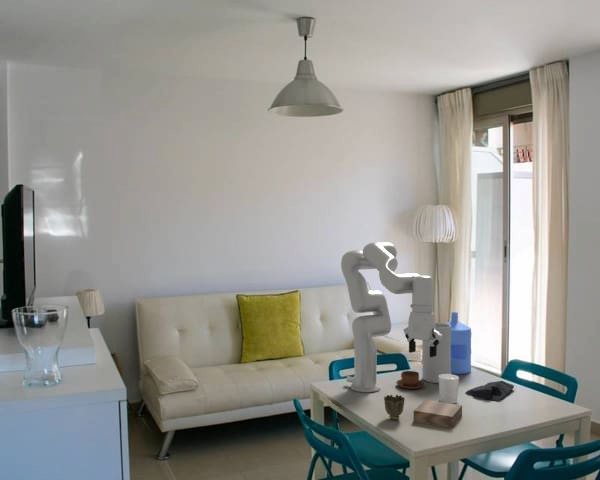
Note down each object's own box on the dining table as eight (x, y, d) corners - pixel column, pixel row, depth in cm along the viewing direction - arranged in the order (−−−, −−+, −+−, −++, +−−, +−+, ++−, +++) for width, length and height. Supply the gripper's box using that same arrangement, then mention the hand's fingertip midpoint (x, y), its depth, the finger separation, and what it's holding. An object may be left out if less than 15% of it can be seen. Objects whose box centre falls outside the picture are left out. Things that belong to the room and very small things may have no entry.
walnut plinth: (413, 421, 209) (413, 410, 209) (425, 410, 221) (425, 399, 221) (452, 428, 202) (452, 416, 202) (462, 416, 214) (462, 405, 214)
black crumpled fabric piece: (520, 391, 245) (520, 380, 245) (497, 403, 230) (497, 392, 229) (486, 384, 256) (486, 374, 256) (462, 395, 240) (462, 384, 240)
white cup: (459, 404, 227) (459, 379, 227) (438, 403, 229) (438, 378, 228) (458, 398, 235) (458, 374, 234) (438, 397, 236) (438, 373, 236)
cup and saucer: (391, 387, 251) (391, 373, 251) (405, 381, 260) (405, 368, 260) (415, 392, 243) (415, 378, 243) (429, 386, 252) (429, 372, 252)
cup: (383, 421, 208) (383, 400, 208) (384, 415, 216) (384, 393, 215) (404, 423, 207) (404, 401, 207) (404, 416, 214) (404, 394, 214)
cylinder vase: (430, 384, 255) (430, 328, 254) (417, 377, 267) (417, 323, 266) (455, 382, 258) (456, 327, 257) (442, 375, 270) (442, 322, 269)
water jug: (446, 364, 289) (446, 309, 288) (476, 369, 279) (476, 312, 278) (431, 371, 277) (432, 313, 276) (463, 376, 267) (463, 316, 266)
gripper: (397, 307, 219) (398, 352, 220) (435, 312, 206) (435, 360, 207) (410, 305, 224) (410, 349, 225) (447, 310, 211) (447, 356, 211)
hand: (422, 354), depth 216 cm, fingers open, 9 cm apart
